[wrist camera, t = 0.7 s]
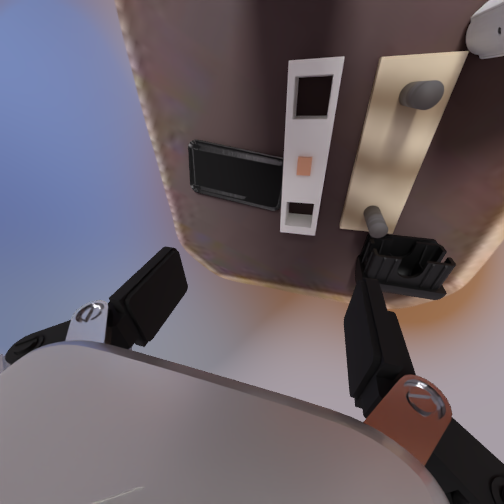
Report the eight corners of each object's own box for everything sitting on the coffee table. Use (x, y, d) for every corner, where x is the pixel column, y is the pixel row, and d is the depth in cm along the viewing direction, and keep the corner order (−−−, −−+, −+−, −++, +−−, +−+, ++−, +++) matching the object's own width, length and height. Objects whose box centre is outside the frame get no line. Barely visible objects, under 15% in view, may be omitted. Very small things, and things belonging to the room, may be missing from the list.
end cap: (352, 266, 37) (357, 296, 32) (364, 231, 33) (372, 258, 27) (419, 276, 35) (435, 309, 29) (441, 239, 30) (465, 270, 25)
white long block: (293, 64, 23) (287, 59, 20) (342, 60, 22) (345, 55, 19) (283, 219, 35) (279, 233, 31) (315, 222, 34) (314, 237, 30)
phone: (187, 139, 31) (291, 160, 29) (191, 137, 32) (291, 158, 30) (190, 191, 36) (278, 213, 34) (193, 188, 36) (280, 210, 34)
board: (379, 58, 22) (394, 49, 17) (462, 52, 20) (505, 41, 15) (339, 224, 33) (341, 247, 28) (390, 229, 31) (401, 254, 27)
